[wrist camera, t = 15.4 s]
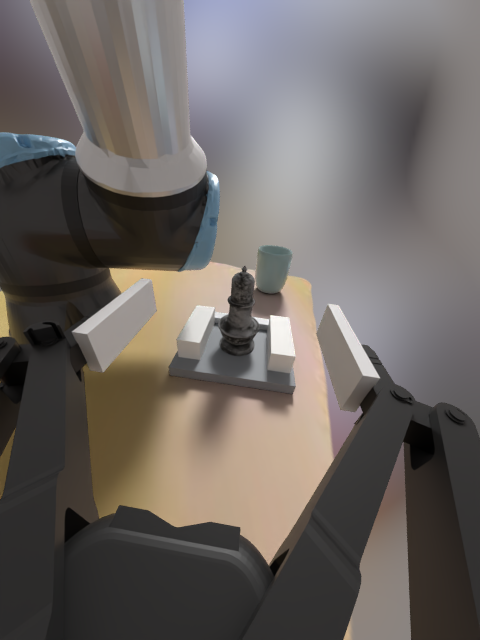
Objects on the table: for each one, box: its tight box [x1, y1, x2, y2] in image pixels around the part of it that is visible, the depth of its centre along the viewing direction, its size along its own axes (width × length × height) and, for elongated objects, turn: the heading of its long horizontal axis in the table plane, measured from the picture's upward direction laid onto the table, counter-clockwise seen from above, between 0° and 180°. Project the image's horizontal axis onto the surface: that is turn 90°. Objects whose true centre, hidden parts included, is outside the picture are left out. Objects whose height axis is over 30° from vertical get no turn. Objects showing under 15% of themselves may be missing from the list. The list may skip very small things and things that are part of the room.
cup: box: [255, 245, 293, 294], centre depth 49 cm, size 8×8×10 cm
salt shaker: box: [218, 266, 260, 356], centre depth 27 cm, size 6×6×12 cm
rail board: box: [169, 305, 296, 394], centre depth 30 cm, size 16×13×4 cm
